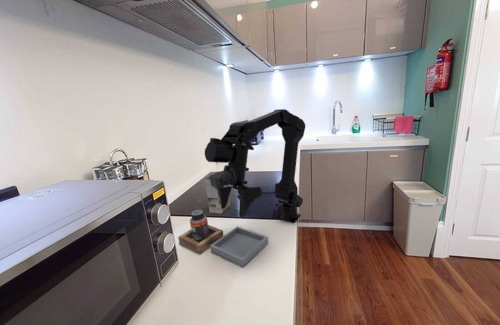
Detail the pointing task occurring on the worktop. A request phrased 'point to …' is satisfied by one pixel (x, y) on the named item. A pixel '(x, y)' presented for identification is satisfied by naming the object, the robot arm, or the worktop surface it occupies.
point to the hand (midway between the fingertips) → (231, 212)
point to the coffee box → (214, 199)
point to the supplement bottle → (199, 226)
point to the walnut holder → (203, 245)
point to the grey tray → (239, 246)
